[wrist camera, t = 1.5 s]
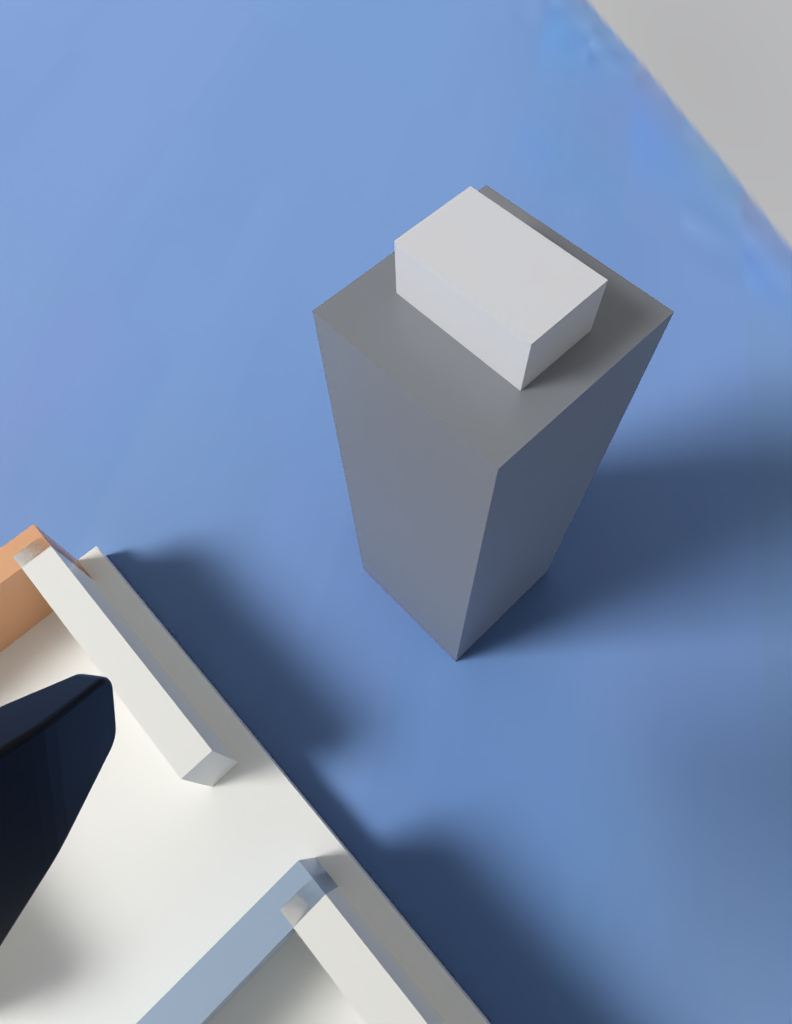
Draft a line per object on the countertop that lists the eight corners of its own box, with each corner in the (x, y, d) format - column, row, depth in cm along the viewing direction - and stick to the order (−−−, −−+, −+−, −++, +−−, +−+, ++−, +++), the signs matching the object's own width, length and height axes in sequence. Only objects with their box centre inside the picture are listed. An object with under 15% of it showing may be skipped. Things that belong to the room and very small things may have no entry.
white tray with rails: (587, 1141, 17) (630, 1215, 14) (242, 1609, 14) (187, 1852, 11) (105, 554, 25) (54, 508, 21) (-193, 783, 22) (-309, 772, 18)
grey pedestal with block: (547, 571, 24) (698, 259, 11) (455, 661, 23) (507, 428, 10) (454, 488, 25) (492, 128, 13) (363, 568, 24) (302, 259, 11)
